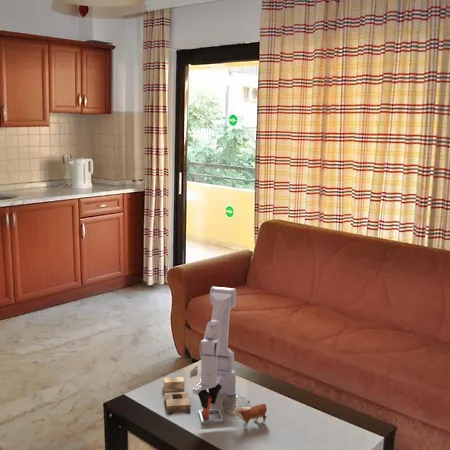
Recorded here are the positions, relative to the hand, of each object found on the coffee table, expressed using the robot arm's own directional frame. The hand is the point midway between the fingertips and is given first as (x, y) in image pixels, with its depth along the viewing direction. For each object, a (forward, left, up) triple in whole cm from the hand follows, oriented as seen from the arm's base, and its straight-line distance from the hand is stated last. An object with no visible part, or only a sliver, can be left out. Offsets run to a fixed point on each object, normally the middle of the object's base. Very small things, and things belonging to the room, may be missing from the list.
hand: (208, 405), depth 204 cm
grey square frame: (-1, +1, -6) cm, 6 cm away
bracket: (-3, -34, -6) cm, 35 cm away
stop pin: (+1, 0, -5) cm, 5 cm away
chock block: (+10, -23, -6) cm, 26 cm away
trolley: (+10, -11, -6) cm, 16 cm away
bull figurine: (-14, +6, -6) cm, 17 cm away
